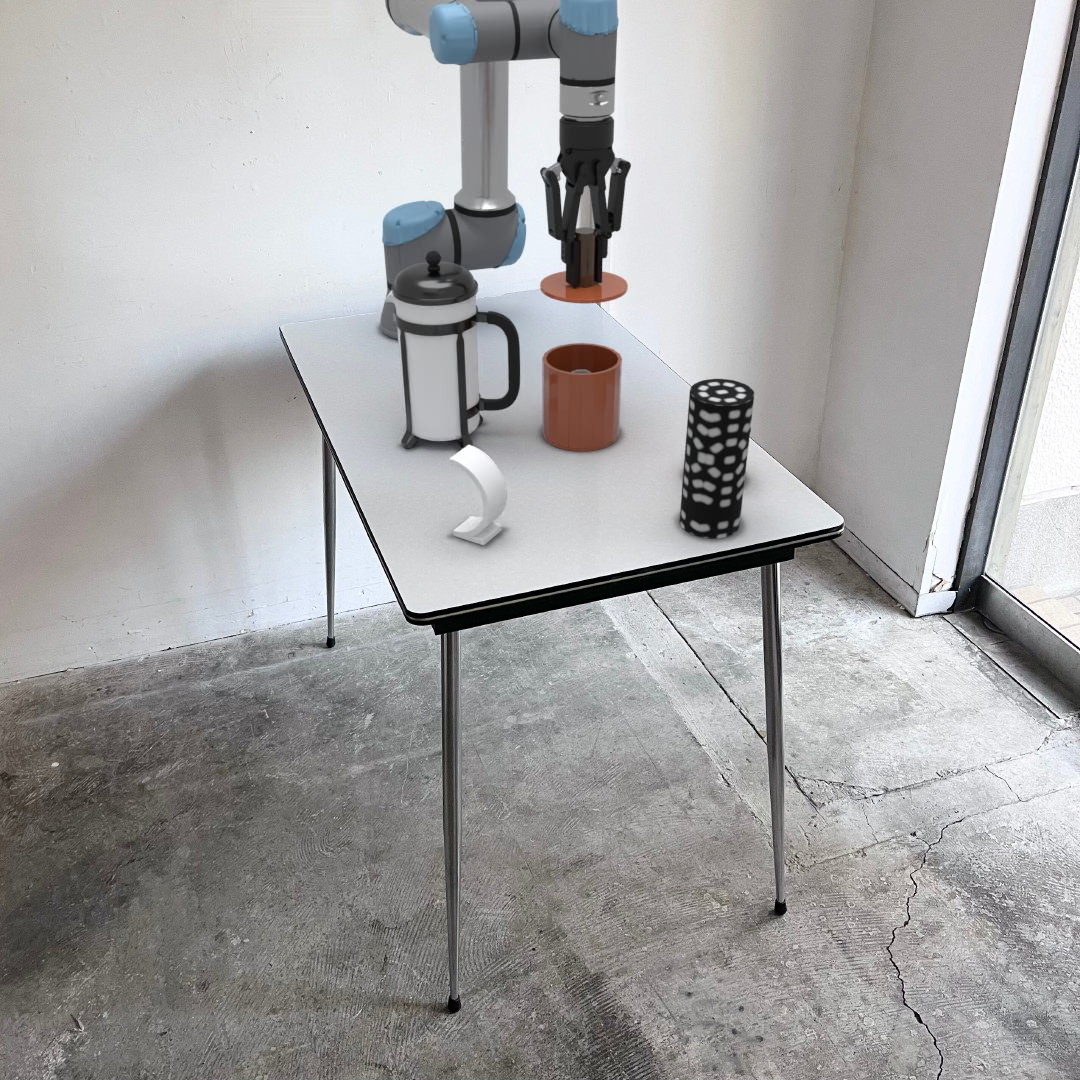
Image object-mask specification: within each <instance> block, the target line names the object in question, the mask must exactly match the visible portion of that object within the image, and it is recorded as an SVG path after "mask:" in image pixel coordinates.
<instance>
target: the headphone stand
mask: <svg viewBox="0 0 1080 1080" xmlns="http://www.w3.org/2000/svg"><path fill="white" fill-rule="evenodd" d="M448 459H449V465H450V466H454V467H455V468H457V469H459V470H461V471H462V472H464V473H465V474H466V475H467V476H468V477H469V478H470V479H471V480H472V482H473V483H474V484H475V486H476V487H477V490H478V491H479V493H480V494H479V495H480V497H481V499H482V504H483V513H482V514H483V515H482V516H475V515H471V516H469V517H468V518H467V519H466V520H464V521H463V522H462V523H460V525H457V527H456V528H454V529H453V531H452V533H453V534H452V535H453V537H457V538H459V539H463V540H465V541H469V542H472V543H475V544H478V545H481V546H485V545H486V544H488V543H489V542H490V541H491V540H492V539H493V538H494V537H496V536H497V535H498V534H499V533H501V531H502V530H503V525H502V524H500V523H496V522H494V521H496V520H497V519H498V518H499V517H500V516H501V515H502V514H503V512H504V511H505V509H506V506H507V503H508V489H507V484H506V483H507V482H506V480H505V478H504V475H503V473H502V472H501V471H502V470H500V468H499V466H498V465H497V463H495V461H494V460H493V459H492V458H491V457H490V456H489V455H488V454H487V453H486V452H484V451H483V450H481V449H480V448H478V447H476V446H474V445H473V446H471V445H467V446H466V447H465V448H463V449H461V450H459V451H458V452H456V453H455V454H454V455H452V456H451V457H449V458H448Z"/></svg>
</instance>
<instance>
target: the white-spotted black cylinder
mask: <svg viewBox="0 0 1080 1080" xmlns="http://www.w3.org/2000/svg"><path fill="white" fill-rule="evenodd" d="M688 395H689V397H688V409H687V420H686V435H685V447H684V448H685V449H684V460H683V473H682V484H681V485H682V486H681V498H680V511H679V525H680V526H681V528H682V529H683V530H684V531H685V532H687V533H688V534H690V535H693V536H695V537H698V538H703V539H710V540H711V539H712V540H713V539H714V540H715V539H723V538H728V537H731V536H733V535H734V534H736V533H737V532H738V530H739V529H740V526H741V517H742V516H741V514H742V508H743V507H742V506H743V498H744V488H745V481H746V474H747V473H746V471H747V462H748V455H749V446H750V439H751V438H750V437H751V432H750V429H751V430H752V420H753V410H754V401H755V391H754V389H753V388H752V387H751V386H749V385H747V384H746V383H743V382H742V381H738V380H735V379H729V378H708V379H703V380H700V381H697V382H695V383H694V384H692V385H691V386H690V388H689V394H688Z"/></svg>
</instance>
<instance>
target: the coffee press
mask: <svg viewBox="0 0 1080 1080" xmlns="http://www.w3.org/2000/svg"><path fill="white" fill-rule="evenodd" d="M425 260H426V261H427V262H422V263H418V264H414V265H411V266H409V267H407V268H405V269H403V270H402V271H401V272H400V273H399V274H398V275H397V277H396V279H395V282H394V283H393V284H392V291H391V292H390V293H389V294H388V296H387V297H386V296H385V298H386V299H384V302H392V303H394V304H395V307H396V308H395V323H396V326H397V330H398V339H397V343H398V354H399V367H400V381H401V393H402V406H403V416H404V424H405V425H404V426H405V427H406V428H405V432H404V435H403V436H402V438H401V441H400V444H401V445H402V446H403V447H404V448H407V449H412V448H413V447H414V446H415V444H416V443H417V442H418V441H419V440H420V439H422V440H425V441H432V442H447V441H448V442H449V441H454V440H455V441H456V442H457V443H458V445H459V447H460V449H461V450H462V449H463V448H465V447H466V446H467V445H471V446H474V444H473V442H472V439H471V437H470V435H471V433H473V432H474V431H475V430H476V429H477V427H478V426H479V425H481V424H482V423H483V421H484V417H483V416H482V415H481V414H480V412H483V411H487V412H489V411H490V412H493V411H495V412H496V411H502V410H505V409H508V408H510V407H511V406H512V405H514V403H515V402H516V400H517V398H518V396H519V394H520V389H521V347H520V346H521V345H520V337H519V332H518V330H517V327H516V326H515V324H514V322H513V321H512V320H511V319H510V318H509V317H508V316H506V315H505V314H503V313H500V312H497V311H493V310H488V311H479V308H478V305H477V293H478V292H479V283H478V281H477V280H476V279H475V278H474V276H473V274H472V272H471V270H467V269H466V268H464V267H463V266H460V265H458V264H455V263H450V262H442V261H441V256H440V254H439V253H438V252H437V251H430V252H428V253H427V255H426V258H425ZM478 323H481V324H487V325H493V326H496V327H499V328H500V329H501V330H502V332H503V333H504V335H505V337H506V341H507V371H508V375H507V376H508V386H507V388H508V389H507V392H506V393H505V395H503V396H502V397H499V398H484V397H482V396H481V393H480V380H479V379H480V378H479V353H478V352H479V350H478V348H479V347H478ZM412 435H413V436H412ZM411 436H412V437H411Z"/></svg>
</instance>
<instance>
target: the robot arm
mask: <svg viewBox="0 0 1080 1080" xmlns="http://www.w3.org/2000/svg"><path fill="white" fill-rule="evenodd" d="M384 3H385V8H386V11H387V14H388V16H389V18H390V19H391V21H392V22H393V23H394V25H395V26H397V27H398V28H399V29H400V30H402V31H403V32H405V33H407V34H409V35H412V36H416V37H417V36H419V37H421V36H423V37H426V38H428V39H429V44H430V49H431V52H432V53H433V57H434V60H436V62H438V63H439V64H442V65H457V66H459V101H460V103H459V104H460V105H459V106H460V110H459V111H460V154H461V155H460V156H461V157H460V160H461V163H460V164H461V169H460V170H461V188H460V189H459V190H458V191H457V192H456V193H455V194H454V196H453V208H445V207H444V205H443V204H442V202H440V201H436V200H427V201H425V200H417V201H411V202H407V203H403V204H400V205H397V206H395V207H394V208H392V209H390V210H389V211H388V212H387V213H385V215H384V216H383V220H382V237H381V241H382V244H383V252H384V255H383V256H384V266H385V277H386V295H385V299H386V297H387V296H388V294H389V293H390V292H391V291H392V284H393V283H394V282H395V279H396V277H397V275H398V274H399V273H400V272H401V271H402V270H403V269H405V268H407V267H409V266H411V265H414V264H418V263H422V262H427V261H426V260H425V258H426V255H427V253H428V252H430V251H437V252H438V253H439V254H440V256H441V261H442V262H450V263H455V264H458V265H460V266H463V267H464V268H466V269H467V270H469V271H478V270H487V269H494V270H495V269H499V268H501V267H507V266H511V265H512V266H513V265H514V264H516V263H517V262H518V260H520V259H521V257H522V256H523V253H524V250H525V245H526V239H527V224H526V213H525V210H524V208H523V206H522V204H520V203H519V202H517V201H516V200H517V199H516V195H515V194H514V193H513V192H512V191H511V190H510V189H509V187H508V186H509V184H508V183H509V181H508V180H509V84H510V83H509V75H510V74H509V73H510V72H509V71H510V69H509V67H510V66H509V64H510V62H511V61H512V62H513V61H514V62H515V61H530V60H531V61H532V60H544V59H545V60H546V59H548V60H549V59H558V60H559V109H558V110H559V113H560V114H561V115H562V116H561V117H560V118H559V121H558V124H559V126H558V127H559V130H558V135H559V136H558V139H559V140H558V141H559V142H558V143H559V154H558V156H557V158H556V162H555V163H553V164H552V165H551V166H548V167H545V166H543V167H541V168H540V171H539V174H540V177H541V179H542V181H543V183H544V190H545V192H544V193H545V205H546V206H545V207H546V219H547V232H548V235H549V236H551V237H552V238H554V239H555V240H557V241H560V260H561V263H564V264H565V271H566V282H567V283H569V284H570V285H571V286H573V287H578V284H579V242H577V241H576V240H574V238H575V231H576V229H577V225H578V218H579V212H580V204H581V199H582V195H583V194H584V191H585V187H588V189H589V194H590V202H591V210H592V211H591V212H592V218H593V219H592V220H593V226H594V229H595V230H596V254H595V282H596V283H602V271H603V264H604V263H603V261H604V259H607V257H608V256H609V255H608V254H609V252H608V250H609V240H610V239H611V238H612V237H613V233H614V232H619V231H621V228H622V219H623V211H624V201H625V191H626V183H627V181H626V180H627V177H628V175H629V172H630V170H631V167H632V164H631V162H630V161H628V160H626V159H624V158H622V157H616V154H615V152H614V149H613V144H614V139H615V119H614V117H613V116H611V115H612V114H614V112H615V101H616V68H617V46H618V44H617V43H618V27H619V16H618V0H384ZM609 171H610V177H609V184H608V185H609V186H608V195H607V197H608V198H607V197H606V190H607V182H606V176H607V173H608V172H609ZM561 173H562V174H563V176H564V177H565V183H564V190H565V195H564V202H563V207H562V197H561V196H562V194H561V185H560V181H561V180H562V179H561V178H562V177H561ZM385 299H384V300H385ZM395 308H396V307H395V304H394V303H392V302H385V301H384V302H383V306H382V310H381V315H380V329H381V332H382V333H383V334H384V335H385V336H387V337H389V338H391V339H394V340H398V330H397V326H396V323H395Z"/></svg>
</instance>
